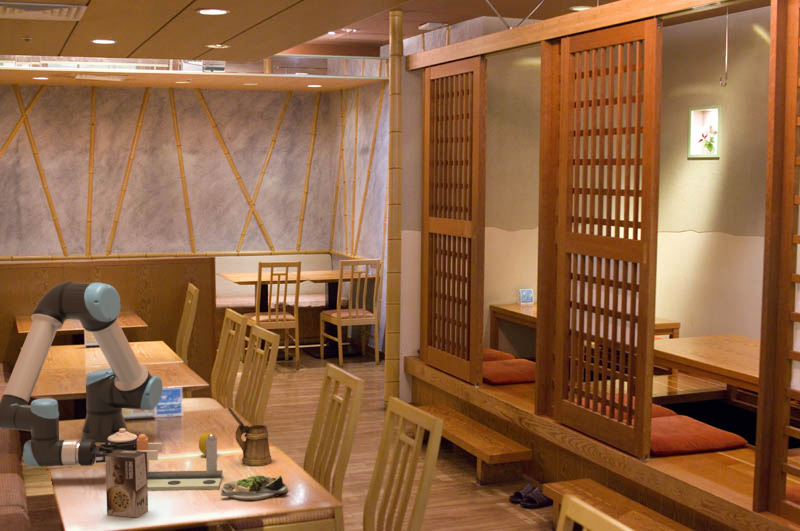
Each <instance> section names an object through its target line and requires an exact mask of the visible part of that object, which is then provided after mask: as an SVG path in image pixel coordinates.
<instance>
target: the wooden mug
mask: <svg viewBox="0 0 800 531" xmlns="http://www.w3.org/2000/svg"><path fill="white" fill-rule="evenodd" d="M227 410H228V411H229V413H230V414H231V416H232V417H233V419H234V420H235V421H236V422H237V424H238V426H237V427H236V431H235V439H236V440H235V441H236V443H237V444H238V446H239V447H240V448H241V450H242V455H243V456H242V458H241V459H242V460H241V462H242V464H244V465H247V466H250V467H251V466H252V467H260V466H265V465H266V466H267V465H269V464H271V463H272V460H273V459H272V456H271V451H270V445H269V431H268V430H267V426H266V425H263V424H254V425H250V426H249V425H247V424H246V425H245V424H244V423H243V421H242V419H241V418H239V417H238V415H237V414H236V413H235V412H234V411H233V409H232V408H230V407H228V408H227ZM243 434H244V438H245V440H243V439H242V435H243Z"/></svg>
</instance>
